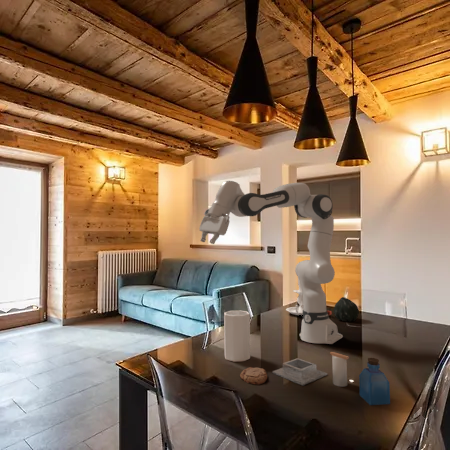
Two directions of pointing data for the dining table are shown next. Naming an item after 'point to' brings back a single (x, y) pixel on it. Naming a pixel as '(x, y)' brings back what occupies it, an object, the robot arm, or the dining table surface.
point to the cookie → (254, 375)
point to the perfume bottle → (374, 384)
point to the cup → (237, 335)
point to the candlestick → (297, 309)
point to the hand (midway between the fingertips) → (206, 242)
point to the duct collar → (299, 371)
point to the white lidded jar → (339, 369)
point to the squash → (346, 310)
